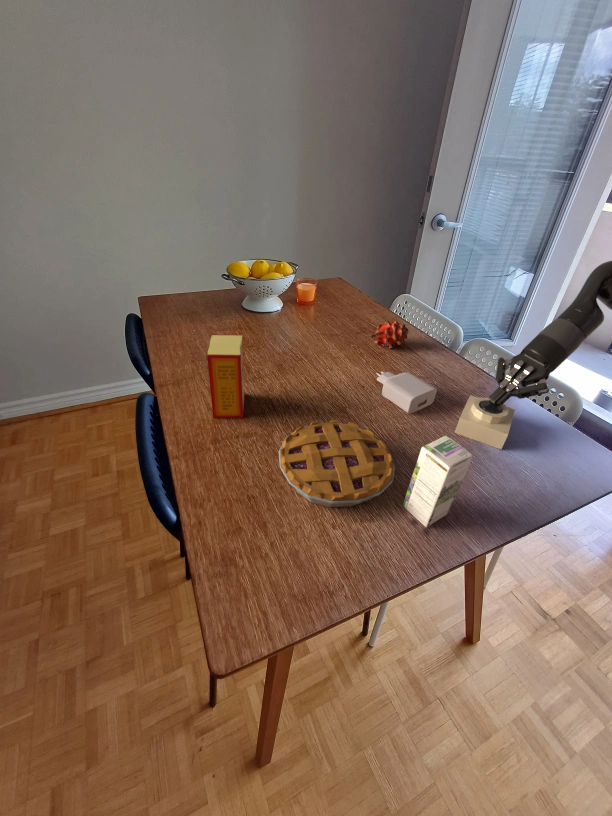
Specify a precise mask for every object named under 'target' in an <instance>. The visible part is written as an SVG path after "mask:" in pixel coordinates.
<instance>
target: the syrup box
mask: <svg viewBox="0 0 612 816" xmlns="http://www.w3.org/2000/svg"><path fill="white" fill-rule="evenodd" d="M473 458H474V455H473V454H471V452H469V451H468V450H467V449H466V448H464V447H463V446H462V445H461V444H459V442H457V441H455V440H454V439H452V438H451V437H449V436H448V435H444V436H442V437H440V438H438V439H435V440H434V441H432V442H430V443H427V444H426V445H423V446H422V447H421V449H420V452H419V454H418V458H417V461H416V465H415V467H414V469H413V473H412V475H411V479H410V482H409V485H408V488H407V491H406V494H405V497H404V500H403V502H402V507H403V508H404V509H405V510H406V511H407V512H409V514H411V515H412V516H413V517H414V518H415V519H416V520H417V521H418V522H420V524H422V525H423V526H424V528H429V527H430V526H432V525H433V524H434V523H437V522H438V521H440V520H441V519H443V518H444V517H446V516H448V514H449V512H450V510H451V508H452V506H453V504H454V501H455V499H456V497H457V494H458V492H459V491H460V488H461V485H462V483H463V482H464V479H465V477H466V474H467V472H468V469H469V468H470V465H471V463H472V461H473Z"/></svg>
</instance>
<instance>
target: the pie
mask: <svg viewBox="0 0 612 816" xmlns="http://www.w3.org/2000/svg"><path fill="white" fill-rule="evenodd" d="M278 458H279V460H278V461H279V469H280V470H281V472H282V473H283V475H284V477H285V478H286V480H287V482H288V484H289V485H290V486H292V487H293V488H294V489H295V491H296V492H297V493H298V494H299V495H301V496H302V497H303V498H305V499H306V500H307V501H309V503H311V504H315V505H319V506H324V507H328V508H343V507H345V508H347V507H354V506H357V505H359V504H362V503H364V502H367V501H371V500H372V499H374V498H375V497H377V496H380V495H381V494H382V493H383V492H384V491H385V490H386V489H387V488H388V487H389V486H390V485H392V484H393V483H394V477H395V471H396V470H395V468H396V465H395V462H394V459H393V454H391V453H390V450H389V448H388V445H387V444H386V443H385V442H384V440H380V439H379V438H378V437H377V436H376V434H375V432H373V431H372V430H371V429H364V428H362V427H360V426H359V425H358V423H356V422H353V421H349V422H347V423H343V422H341V421H340V420H339V419H330V421H329V422H322V421H319V420H318V421H317V420H316V421H312V422H311V423H310V424H309V425H307V426H302V425H300V426H299V427H297V428H296V429H295V430H294V431H293V432H291V433H290V434H287V436H286V437H285V438H284V440H283V442H282V444H281V446H280V448H279V449H278Z"/></svg>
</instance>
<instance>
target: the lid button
mask: <svg viewBox="0 0 612 816" xmlns="http://www.w3.org/2000/svg"><path fill="white" fill-rule="evenodd" d="M480 408H481V409H483V410H484V411H486V412H489V413H492V414H499V413H500V412H501V410H502V408H501V406H497V407H494V406H493V405H492V404H490V402H489V400H485V401H482V402H481V404H480Z"/></svg>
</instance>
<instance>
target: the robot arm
mask: <svg viewBox="0 0 612 816" xmlns="http://www.w3.org/2000/svg"><path fill="white" fill-rule="evenodd" d="M598 300H599V301H600V302H601V303H602V304H603V305H604V306H605V307H607V308H608V309H609V310H611V311H612V260H608V261H604V262H602V263H600V264H599V265H597V266H596V267H595V268H594V269H593V270H592V271H591V273H589V275H588V277H587V278H586V280H585V282H584V283H583V285H582V286H581V288H580V290H579V292H578V293H577V296H576V297H575V298H574V299H573V301H572V302H571V303H570V304H569V305H568V307H566V308H565V309H564V311H562V312H561V313H560V315H558V316H557V317H556V318H555V319H554V320H553V321H552V322H550V323H549V324H547V325H546V326H545V327H544V328H543V329H542V330H541V331H540V332H539V333H538V334H537V335H536V336H535V337H534V338H532V340H531V341H530V342H528V343H527V345H525V346H524V347H523V349H522V350H521V351H520V353H518V354H515V355H514V356H512V358H506V359H505V358H504V357H499V358H498V359H497V365H496V373H495V381H496V383H497V385H498V386H497V388H496V389H494V391H493V392H492V393H491V394H490V395H489V397H488V398H489V402H490V404H492V405H493V406H494V407H497V406H501V405H503V404H504V405H505V403H506V402H507V401H508V400H509V399H510V398H512V397H514V398H517V399H518V400H519V399H520V400H521V399H526V398H531V397H536V396H540V395H544V394H545V395H546V394H548V393H549V392H550V388H549V385H548V383H547V380H548V379H549V377H550V374H551V373H552V372H554V371H555V370H557V369H558V367H559V366H560V365H561V364H563V363H564V362H565V361H566V360H567V359H568V358H569V357H570V356H571V355H572V354H573V353H575V352H576V351H577V349H578V348H579V347H581V344H582V343H583V342H585V340H586V339H587V338H589V336H591V335H592V334H593V333H594V332H595V331H596V330H597V329H598V327H600V326H601V325H602V324H603V322H604V321H605V315H604V312H603V310H602V309H601V306H599V303H598ZM507 370H509V372H508V373H507ZM506 373H507V374H506Z"/></svg>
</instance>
